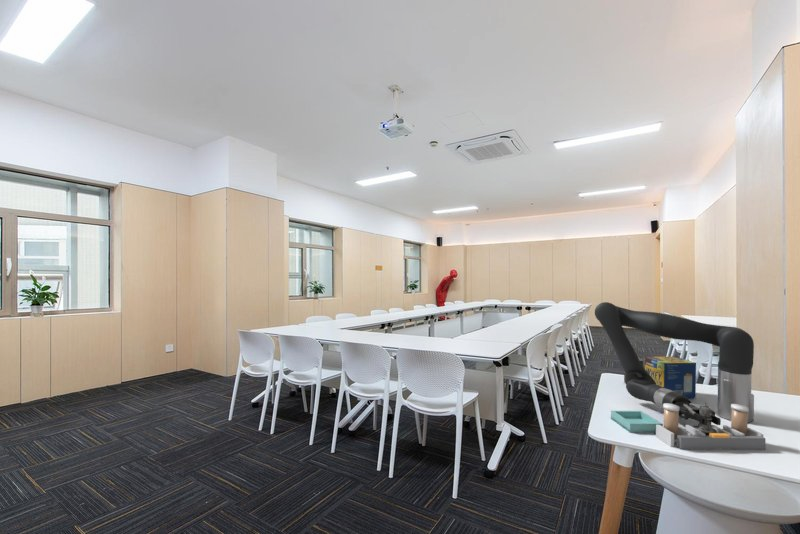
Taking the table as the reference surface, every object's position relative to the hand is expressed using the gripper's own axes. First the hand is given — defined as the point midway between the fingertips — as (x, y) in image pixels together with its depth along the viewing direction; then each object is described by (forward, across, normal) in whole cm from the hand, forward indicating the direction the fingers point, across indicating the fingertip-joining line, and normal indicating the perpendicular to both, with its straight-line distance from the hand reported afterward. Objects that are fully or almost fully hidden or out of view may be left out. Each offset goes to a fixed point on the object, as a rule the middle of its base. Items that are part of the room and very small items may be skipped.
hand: (712, 421), depth 115 cm
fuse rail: (-3, 0, +7) cm, 8 cm away
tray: (-13, -16, +7) cm, 22 cm away
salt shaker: (-3, 0, +7) cm, 8 cm away
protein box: (-45, +20, +7) cm, 50 cm away
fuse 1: (-3, -11, +7) cm, 13 cm away
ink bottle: (-59, +14, +7) cm, 61 cm away
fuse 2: (-3, +11, +7) cm, 13 cm away
